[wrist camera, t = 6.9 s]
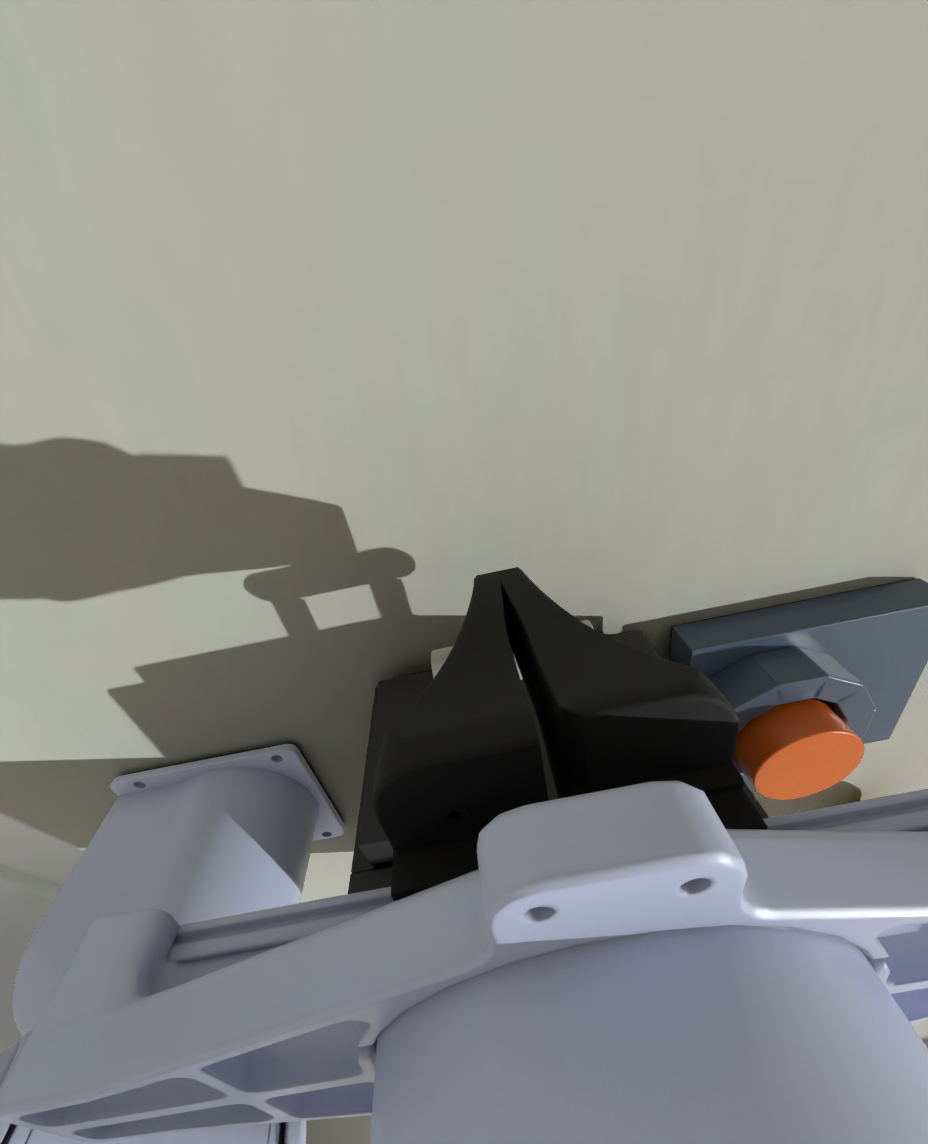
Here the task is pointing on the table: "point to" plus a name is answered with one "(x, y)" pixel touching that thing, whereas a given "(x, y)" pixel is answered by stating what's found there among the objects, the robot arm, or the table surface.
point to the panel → (818, 655)
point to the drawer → (399, 698)
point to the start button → (797, 750)
